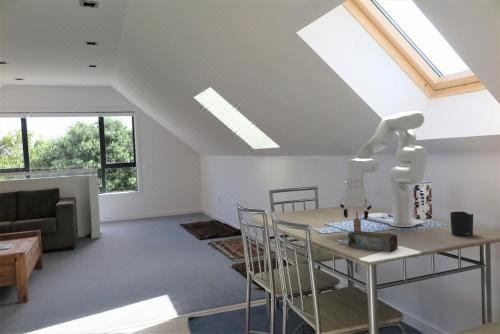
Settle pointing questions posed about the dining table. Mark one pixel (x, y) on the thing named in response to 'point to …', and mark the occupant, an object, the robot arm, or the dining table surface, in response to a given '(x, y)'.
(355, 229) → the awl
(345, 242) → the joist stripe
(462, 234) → the pen holder
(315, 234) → the dining table surface
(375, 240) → the beverage carton
